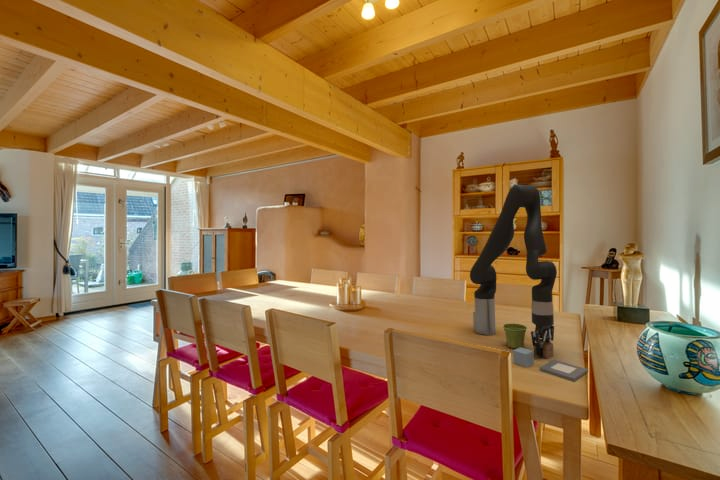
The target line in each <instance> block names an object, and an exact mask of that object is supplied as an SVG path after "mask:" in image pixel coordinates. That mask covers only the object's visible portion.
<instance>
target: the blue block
mask: <svg viewBox="0 0 720 480" xmlns="http://www.w3.org/2000/svg"><path fill="white" fill-rule="evenodd" d="M512 354H513V357H512V358H513V359H512V360H513V364H514V363H515V365H518V366H521V367H524V368H527V369H528V368H529V367H531V366H533V365H534V364H535V363H534V362H535V360H534V359H535V358H534V357H535V355H534V350H532V349H529V348H526V347H523V348H521V347H520V348H518V349H516V348H514V349H513V350H512Z"/></svg>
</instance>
